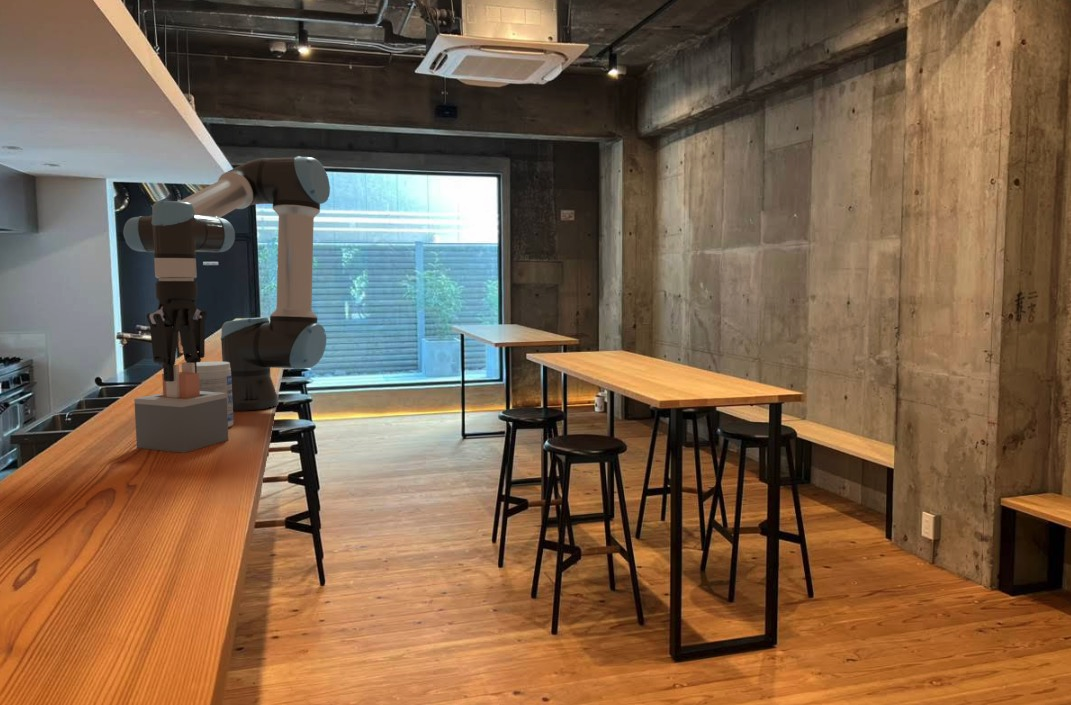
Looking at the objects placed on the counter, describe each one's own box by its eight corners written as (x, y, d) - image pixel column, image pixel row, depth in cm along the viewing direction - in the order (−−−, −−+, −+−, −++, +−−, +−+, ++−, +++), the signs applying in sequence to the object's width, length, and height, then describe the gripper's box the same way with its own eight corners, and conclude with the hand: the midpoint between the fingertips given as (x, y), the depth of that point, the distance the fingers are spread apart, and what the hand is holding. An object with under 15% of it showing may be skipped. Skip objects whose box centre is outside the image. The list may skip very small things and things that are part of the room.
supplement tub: (240, 427, 168) (237, 363, 166) (197, 433, 161) (193, 367, 160) (223, 421, 175) (221, 359, 173) (181, 427, 168) (178, 363, 167)
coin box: (183, 435, 159) (181, 389, 158) (228, 440, 155) (226, 392, 154) (136, 447, 148) (134, 398, 147) (184, 452, 144) (181, 402, 143)
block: (163, 398, 150) (162, 373, 149) (176, 395, 153) (175, 371, 153) (186, 399, 148) (185, 375, 147) (199, 397, 151) (198, 373, 151)
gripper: (193, 279, 157) (197, 388, 159) (126, 280, 141) (133, 400, 144) (221, 279, 155) (225, 390, 157) (157, 280, 139) (163, 403, 141)
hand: (181, 395), depth 150 cm, fingers closed on block, 3 cm apart
